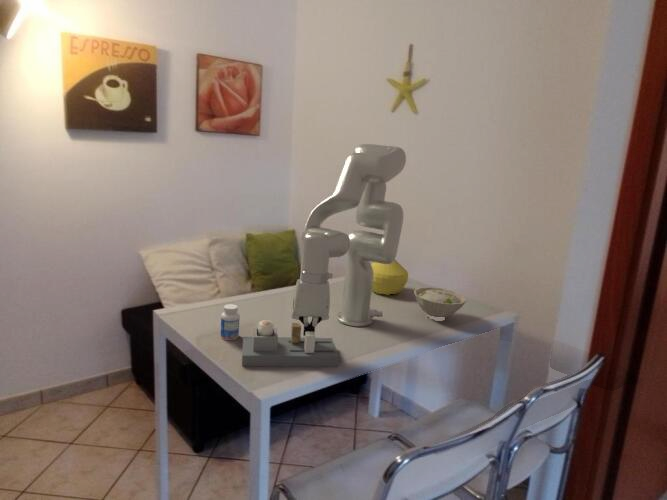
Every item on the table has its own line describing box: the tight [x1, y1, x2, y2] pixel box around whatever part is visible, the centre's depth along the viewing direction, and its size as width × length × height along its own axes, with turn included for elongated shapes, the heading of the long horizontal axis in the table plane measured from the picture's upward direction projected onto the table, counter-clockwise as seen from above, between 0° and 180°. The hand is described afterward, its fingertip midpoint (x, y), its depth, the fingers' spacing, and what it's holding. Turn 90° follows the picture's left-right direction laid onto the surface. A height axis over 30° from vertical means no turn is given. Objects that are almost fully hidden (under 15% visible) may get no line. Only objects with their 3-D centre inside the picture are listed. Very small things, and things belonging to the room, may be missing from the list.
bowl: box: [413, 286, 468, 318], centre depth 174 cm, size 19×19×10 cm
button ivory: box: [258, 319, 274, 336], centre depth 130 cm, size 4×4×4 cm
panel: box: [241, 327, 340, 367], centre depth 132 cm, size 26×12×7 cm, turn 100°
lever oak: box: [290, 322, 302, 344], centre depth 135 cm, size 2×3×5 cm
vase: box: [370, 259, 409, 296], centre depth 198 cm, size 18×18×19 cm
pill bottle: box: [220, 303, 241, 341], centre depth 141 cm, size 6×5×10 cm
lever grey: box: [304, 331, 316, 353], centre depth 130 cm, size 2×3×5 cm
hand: (308, 337), depth 136 cm, fingers closed
